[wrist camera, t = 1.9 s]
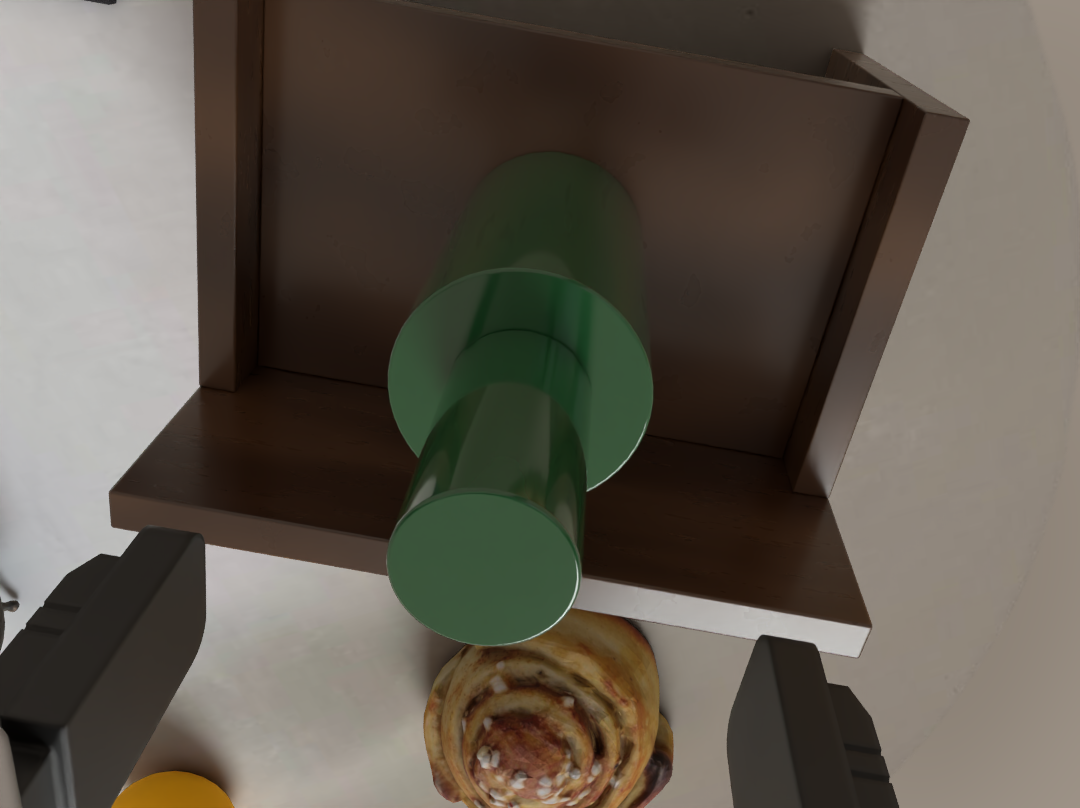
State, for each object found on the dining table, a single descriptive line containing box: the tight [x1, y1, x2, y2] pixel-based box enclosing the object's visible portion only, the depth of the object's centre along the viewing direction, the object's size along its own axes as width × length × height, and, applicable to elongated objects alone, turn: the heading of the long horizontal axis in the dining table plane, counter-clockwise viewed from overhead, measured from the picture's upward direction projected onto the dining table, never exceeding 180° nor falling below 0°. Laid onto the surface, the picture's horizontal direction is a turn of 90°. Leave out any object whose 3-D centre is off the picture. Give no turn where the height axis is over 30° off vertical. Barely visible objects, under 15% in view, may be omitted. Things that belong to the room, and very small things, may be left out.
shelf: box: [109, 0, 970, 658], centre depth 30 cm, size 13×20×18 cm, turn 81°
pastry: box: [423, 608, 673, 808], centre depth 48 cm, size 13×15×8 cm
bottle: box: [386, 152, 654, 646], centre depth 22 cm, size 6×6×16 cm
